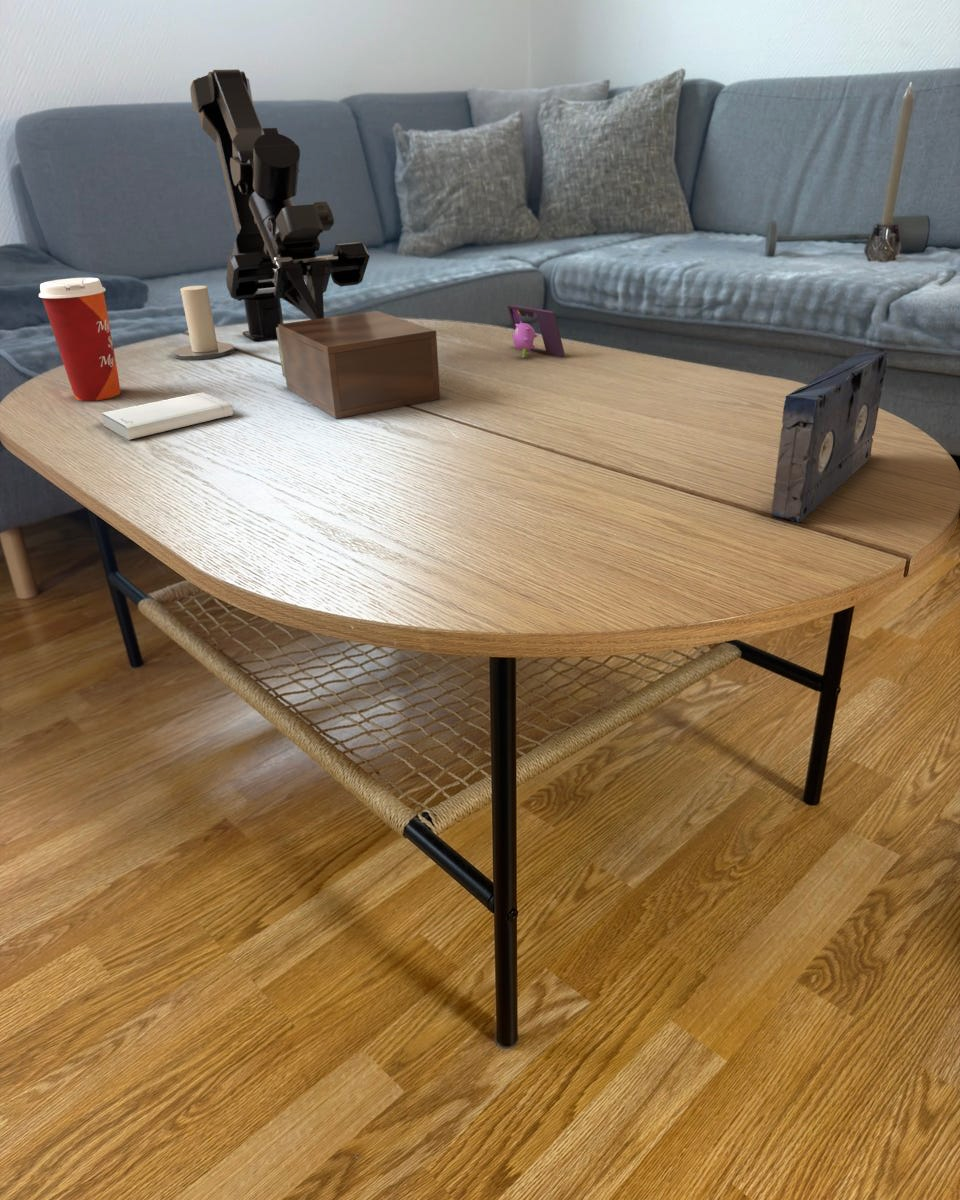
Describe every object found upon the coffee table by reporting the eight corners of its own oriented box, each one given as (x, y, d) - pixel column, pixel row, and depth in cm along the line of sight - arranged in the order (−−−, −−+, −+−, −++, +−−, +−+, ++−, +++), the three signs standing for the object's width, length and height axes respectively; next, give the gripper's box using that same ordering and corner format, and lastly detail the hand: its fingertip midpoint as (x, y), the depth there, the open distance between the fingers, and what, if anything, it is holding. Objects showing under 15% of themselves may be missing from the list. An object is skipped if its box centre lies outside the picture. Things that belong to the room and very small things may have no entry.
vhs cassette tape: (843, 454, 83) (861, 348, 78) (875, 459, 81) (896, 351, 76) (763, 516, 71) (778, 395, 66) (798, 524, 69) (817, 400, 64)
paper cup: (135, 396, 111) (108, 281, 105) (71, 406, 108) (40, 288, 101) (122, 384, 117) (96, 274, 111) (61, 393, 114) (31, 281, 107)
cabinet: (287, 388, 112) (277, 324, 108) (382, 372, 118) (377, 310, 114) (335, 418, 99) (327, 347, 95) (440, 398, 105) (436, 330, 101)
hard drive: (126, 426, 94) (231, 402, 101) (99, 412, 100) (201, 389, 106) (130, 441, 95) (234, 416, 102) (103, 426, 100) (203, 403, 107)
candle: (189, 349, 132) (177, 287, 128) (214, 345, 134) (203, 284, 130) (195, 353, 130) (183, 290, 125) (221, 350, 131) (210, 287, 127)
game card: (557, 308, 118) (512, 301, 124) (532, 327, 116) (487, 319, 122) (568, 353, 122) (524, 344, 128) (544, 372, 120) (500, 362, 126)
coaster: (167, 352, 134) (166, 348, 134) (225, 343, 138) (224, 340, 138) (181, 362, 127) (180, 358, 127) (241, 354, 131) (241, 349, 131)
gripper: (215, 184, 106) (258, 288, 103) (356, 176, 114) (399, 272, 111) (210, 249, 116) (249, 346, 113) (340, 237, 124) (380, 327, 121)
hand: (320, 321), depth 114 cm, fingers closed, pressing on drawer
